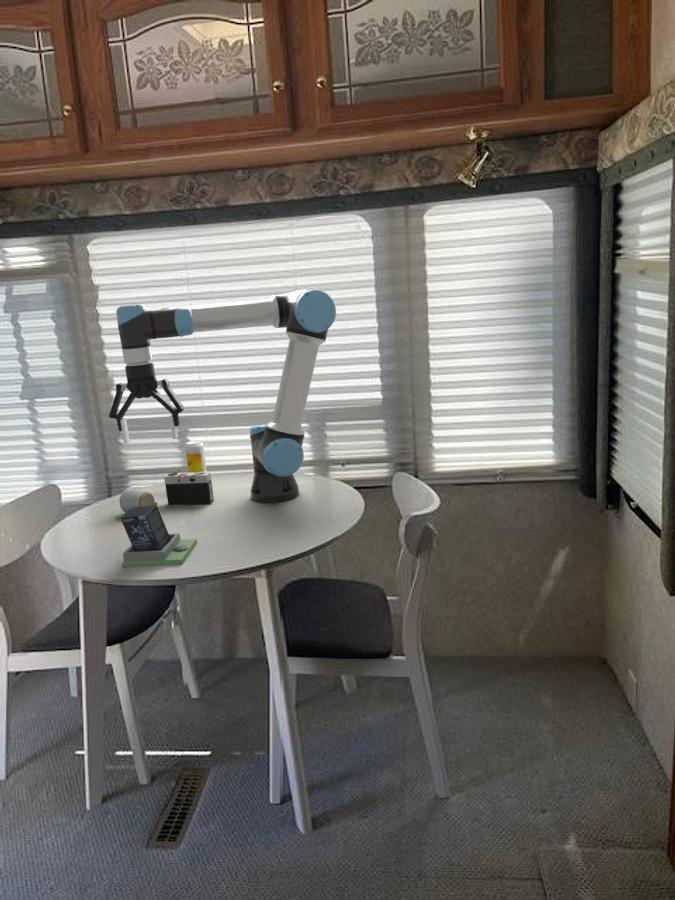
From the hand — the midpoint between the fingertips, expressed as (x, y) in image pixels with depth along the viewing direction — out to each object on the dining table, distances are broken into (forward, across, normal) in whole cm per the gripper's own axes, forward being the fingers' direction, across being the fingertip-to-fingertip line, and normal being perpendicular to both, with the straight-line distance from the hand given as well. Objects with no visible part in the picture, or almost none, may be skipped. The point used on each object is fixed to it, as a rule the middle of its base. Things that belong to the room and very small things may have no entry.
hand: (151, 440), depth 191 cm
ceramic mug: (+26, +12, -16) cm, 32 cm away
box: (+23, -3, +21) cm, 32 cm away
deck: (+26, -4, +21) cm, 34 cm away
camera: (+26, -3, -23) cm, 35 cm away
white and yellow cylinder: (+26, -1, -42) cm, 49 cm away
